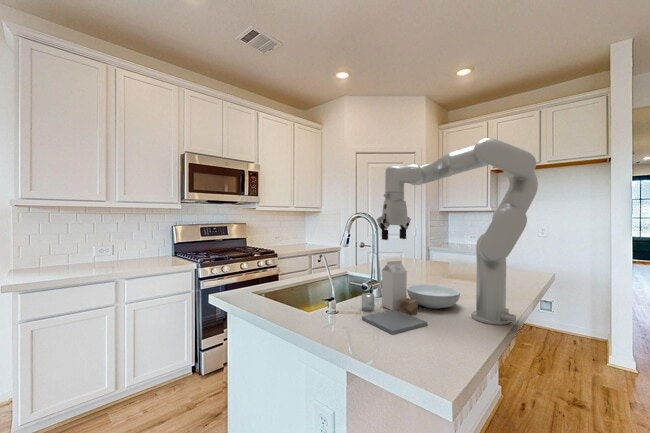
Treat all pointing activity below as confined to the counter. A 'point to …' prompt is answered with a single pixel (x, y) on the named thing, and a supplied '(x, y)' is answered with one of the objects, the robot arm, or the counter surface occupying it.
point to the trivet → (394, 321)
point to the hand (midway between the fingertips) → (394, 239)
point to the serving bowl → (433, 295)
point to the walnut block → (408, 306)
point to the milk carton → (393, 284)
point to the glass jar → (368, 302)
